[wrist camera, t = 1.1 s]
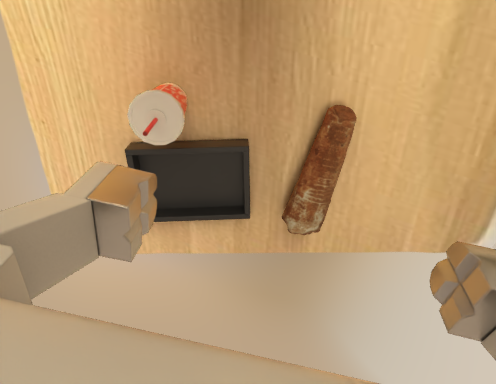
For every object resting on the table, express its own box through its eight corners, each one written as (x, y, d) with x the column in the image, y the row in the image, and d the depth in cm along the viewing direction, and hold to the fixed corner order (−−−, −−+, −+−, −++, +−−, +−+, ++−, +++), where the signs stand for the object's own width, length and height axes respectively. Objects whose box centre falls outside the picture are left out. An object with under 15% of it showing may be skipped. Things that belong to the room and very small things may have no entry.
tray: (130, 142, 46) (124, 150, 44) (248, 138, 47) (248, 146, 44) (144, 212, 52) (139, 222, 49) (249, 208, 52) (250, 218, 50)
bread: (277, 213, 53) (282, 233, 48) (324, 97, 44) (335, 107, 39) (314, 221, 54) (321, 242, 49) (366, 110, 45) (381, 122, 41)
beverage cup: (146, 119, 45) (112, 158, 33) (147, 72, 42) (111, 96, 30) (191, 126, 46) (175, 167, 33) (195, 80, 43) (179, 107, 30)
